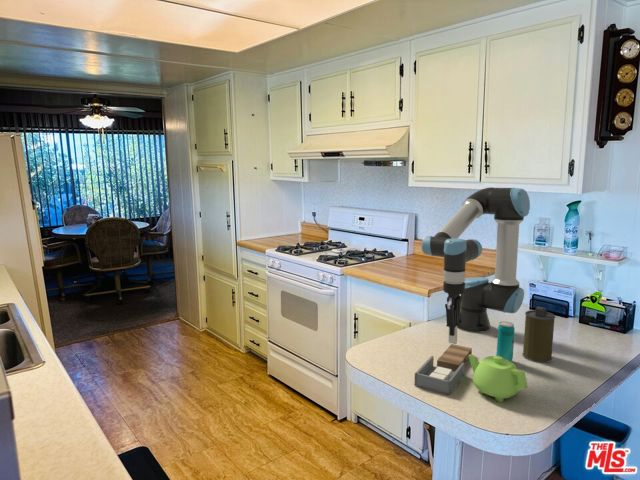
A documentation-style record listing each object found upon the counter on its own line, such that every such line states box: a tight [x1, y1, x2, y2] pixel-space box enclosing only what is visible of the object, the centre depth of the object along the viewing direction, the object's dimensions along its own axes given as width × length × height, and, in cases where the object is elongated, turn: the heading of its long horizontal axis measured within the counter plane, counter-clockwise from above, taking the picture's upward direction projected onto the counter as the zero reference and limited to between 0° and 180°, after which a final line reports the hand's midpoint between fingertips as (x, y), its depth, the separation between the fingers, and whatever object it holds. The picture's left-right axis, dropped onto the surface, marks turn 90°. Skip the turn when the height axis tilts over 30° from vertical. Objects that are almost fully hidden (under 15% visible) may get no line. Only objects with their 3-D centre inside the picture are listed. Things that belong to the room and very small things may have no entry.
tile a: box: [434, 366, 452, 380], centre depth 157 cm, size 5×5×2 cm
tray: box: [414, 355, 465, 396], centre depth 155 cm, size 17×12×4 cm
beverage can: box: [496, 321, 515, 362], centre depth 168 cm, size 6×6×15 cm
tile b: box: [429, 372, 446, 380], centre depth 152 cm, size 5×5×2 cm
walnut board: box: [436, 343, 473, 371], centre depth 170 cm, size 18×8×3 cm, turn 147°
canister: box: [521, 305, 556, 363], centre depth 172 cm, size 11×10×20 cm
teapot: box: [468, 354, 529, 403], centre depth 145 cm, size 20×13×13 cm
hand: (452, 342), depth 165 cm, fingers closed
